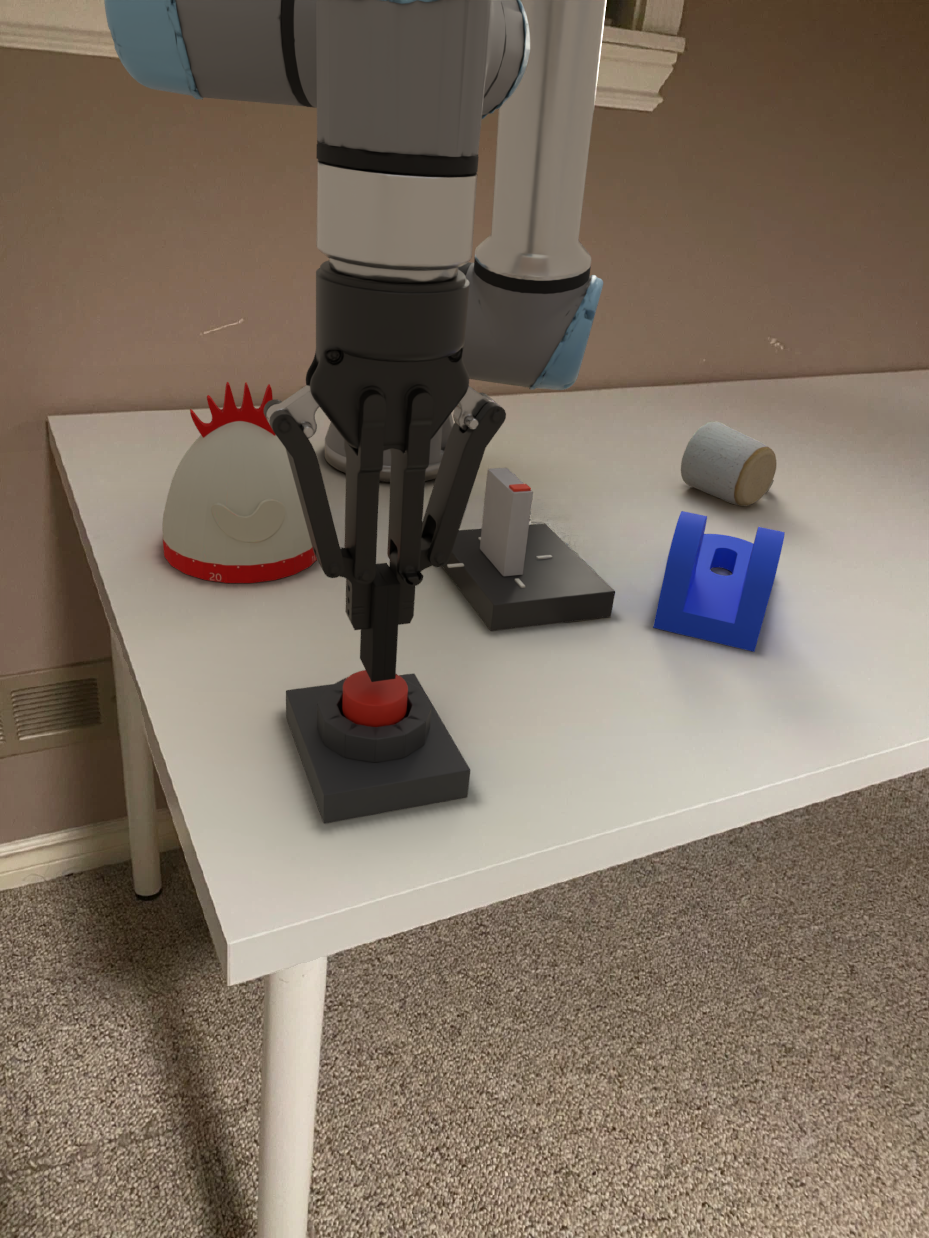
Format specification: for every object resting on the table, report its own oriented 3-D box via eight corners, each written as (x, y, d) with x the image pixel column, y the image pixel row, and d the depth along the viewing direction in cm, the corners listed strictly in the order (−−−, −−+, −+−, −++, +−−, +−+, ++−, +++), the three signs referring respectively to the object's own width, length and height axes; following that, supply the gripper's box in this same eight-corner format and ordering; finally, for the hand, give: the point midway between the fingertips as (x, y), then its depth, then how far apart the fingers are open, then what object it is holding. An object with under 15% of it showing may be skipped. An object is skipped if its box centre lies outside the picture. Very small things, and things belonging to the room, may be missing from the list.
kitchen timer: (332, 578, 82) (334, 408, 74) (165, 588, 78) (150, 410, 70) (308, 513, 93) (308, 361, 86) (162, 519, 89) (149, 360, 82)
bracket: (754, 651, 77) (782, 551, 72) (653, 627, 79) (673, 528, 74) (769, 564, 92) (792, 477, 87) (683, 546, 94) (702, 460, 89)
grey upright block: (479, 548, 83) (487, 465, 80) (498, 547, 84) (507, 464, 80) (503, 576, 79) (513, 490, 75) (522, 574, 80) (533, 489, 76)
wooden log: (733, 515, 102) (750, 447, 98) (673, 490, 107) (687, 424, 103) (787, 498, 108) (805, 433, 104) (727, 475, 113) (743, 412, 110)
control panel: (420, 557, 87) (421, 531, 85) (541, 546, 91) (545, 521, 90) (475, 633, 75) (478, 604, 74) (611, 617, 80) (616, 589, 78)
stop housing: (285, 716, 64) (285, 666, 62) (412, 698, 67) (415, 650, 65) (323, 824, 55) (324, 770, 53) (467, 797, 58) (473, 745, 56)
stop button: (335, 696, 60) (335, 673, 59) (395, 687, 61) (397, 665, 61) (351, 732, 57) (352, 709, 56) (414, 723, 58) (416, 699, 57)
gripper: (488, 252, 51) (456, 625, 63) (245, 247, 47) (259, 649, 59) (546, 281, 45) (498, 687, 57) (274, 278, 41) (283, 719, 53)
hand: (377, 668), depth 58 cm, fingers closed
